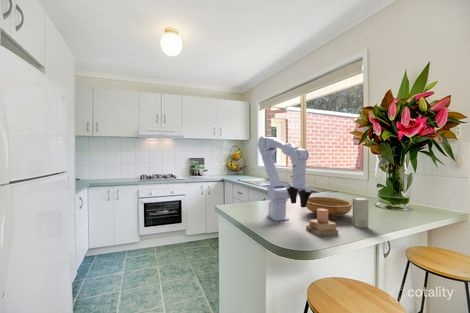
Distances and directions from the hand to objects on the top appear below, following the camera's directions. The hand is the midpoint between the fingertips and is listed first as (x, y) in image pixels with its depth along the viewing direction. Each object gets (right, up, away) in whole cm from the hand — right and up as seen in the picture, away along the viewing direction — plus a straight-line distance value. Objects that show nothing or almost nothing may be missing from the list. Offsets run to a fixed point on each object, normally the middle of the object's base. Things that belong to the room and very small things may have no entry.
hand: (298, 205), depth 100 cm
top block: (+9, -8, -6) cm, 13 cm away
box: (+29, -10, +2) cm, 31 cm away
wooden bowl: (+21, -10, +19) cm, 30 cm away
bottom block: (+8, -11, -6) cm, 15 cm away
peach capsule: (+9, -6, -6) cm, 12 cm away
